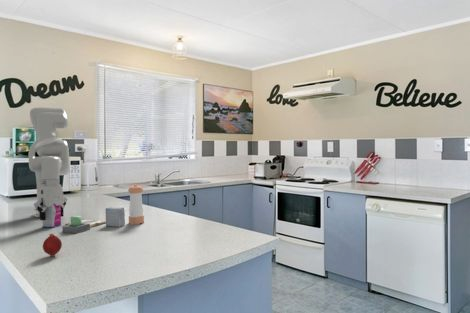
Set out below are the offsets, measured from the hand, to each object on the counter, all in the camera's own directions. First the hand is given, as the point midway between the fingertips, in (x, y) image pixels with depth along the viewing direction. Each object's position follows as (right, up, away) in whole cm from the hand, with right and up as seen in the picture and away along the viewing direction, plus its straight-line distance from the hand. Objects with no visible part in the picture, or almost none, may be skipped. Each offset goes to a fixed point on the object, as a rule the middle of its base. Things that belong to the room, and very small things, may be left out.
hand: (51, 218), depth 163 cm
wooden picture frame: (+15, -4, +5) cm, 16 cm away
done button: (+16, -3, -8) cm, 18 cm away
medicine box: (+30, -4, +1) cm, 31 cm away
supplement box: (0, -4, 0) cm, 4 cm away
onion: (+24, -5, -45) cm, 51 cm away
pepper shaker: (+39, -4, +6) cm, 40 cm away
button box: (+16, -4, -8) cm, 18 cm away
